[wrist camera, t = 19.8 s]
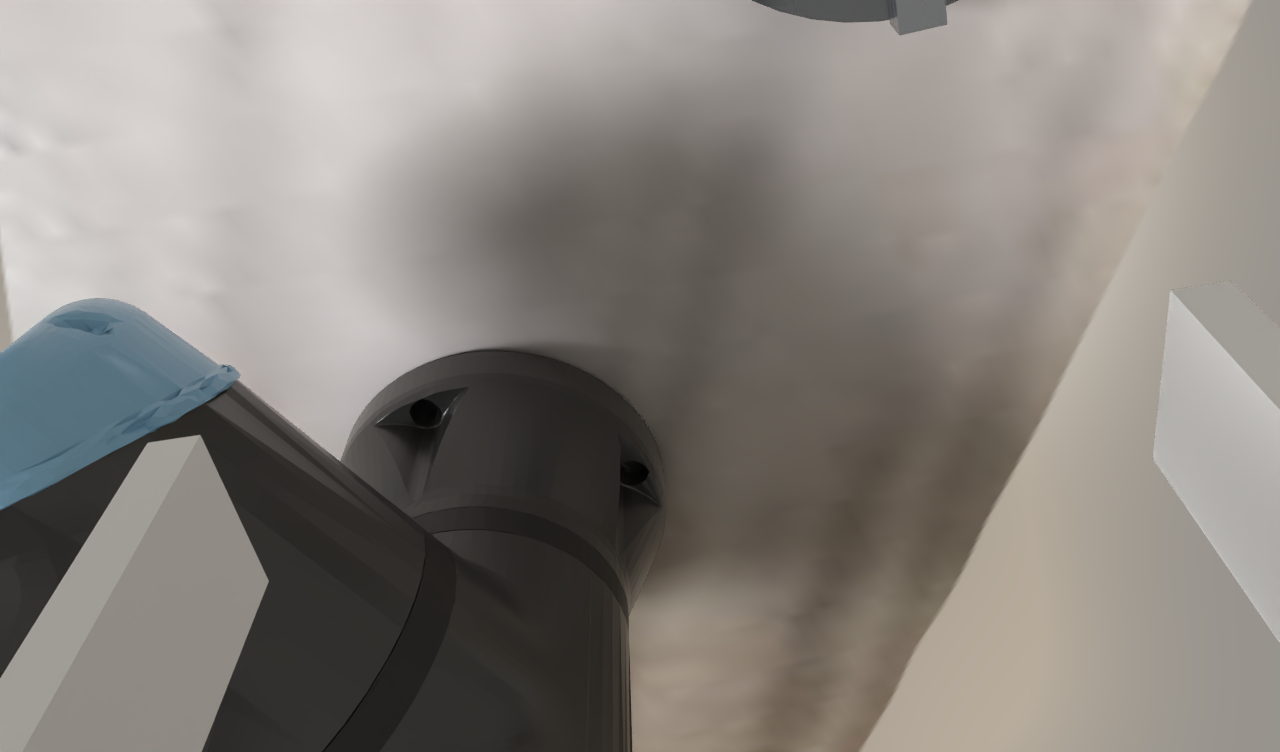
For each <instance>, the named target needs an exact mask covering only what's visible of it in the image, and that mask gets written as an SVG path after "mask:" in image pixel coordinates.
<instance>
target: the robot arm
mask: <svg viewBox="0 0 1280 752" xmlns="http://www.w3.org/2000/svg"><path fill="white" fill-rule="evenodd" d="M240 375H241V374H240V373H239V372H238V371H237V370H236V369H235V368H233V367H232V366H231V365H218V364H217V363H215V362H214V361H213V360H211V359H210V358H208V357H207V356H206V355H204V354H203V353H201V352H200V351H198V350H197V349H196V348H194V347H193V346H191V345H190V344H189V343H187V342H186V341H184V340H183V339H182V338H180V337H179V336H177V335H176V334H174V333H173V332H172V331H170V330H169V329H167V328H166V327H165V326H163V325H162V324H160V323H159V322H158V321H156V320H155V319H154V318H152V317H151V316H149V315H148V314H147V313H145V312H144V311H142V310H140V309H138V308H137V307H135V306H133V305H130V304H128V303H125V302H122V301H118V300H113V299H104V298H94V299H85V300H80V301H76V302H73V303H70V304H67V305H65V306H62V307H60V308H59V309H57V310H56V311H54V312H53V313H51V314H49V315H48V316H47V317H45V318H44V319H43V320H41V321H40V322H39V323H38V324H36V325H35V326H34V327H33V328H31V329H30V330H29V331H27V332H26V333H25V334H24V335H22V336H21V337H20V338H19V339H17V340H16V341H15V342H14V343H12V344H11V345H10V346H9V347H7V348H6V349H5V350H3V351H2V352H1V353H0V752H632V726H631V690H630V655H629V615H630V612H631V610H632V608H633V606H634V604H635V601H636V599H637V597H638V595H639V592H640V590H641V588H642V586H643V584H644V581H645V579H646V577H647V575H648V573H649V570H650V568H651V566H652V564H653V562H654V559H655V557H656V555H657V553H658V550H659V547H660V544H661V540H662V536H663V532H664V526H665V519H666V499H665V480H664V470H663V464H662V460H661V456H660V453H659V450H658V447H657V445H656V443H655V440H654V438H653V436H652V434H651V433H650V431H649V429H648V427H647V426H646V424H645V423H644V421H643V420H642V419H641V417H640V416H639V415H638V413H637V412H636V411H635V410H634V409H633V408H632V407H631V406H630V405H629V403H628V402H627V401H625V400H624V399H623V398H622V397H621V396H620V395H619V394H618V393H616V392H615V391H614V390H613V389H611V388H610V387H609V386H607V385H606V384H604V383H603V382H601V381H600V380H598V379H596V378H595V377H593V376H591V375H589V374H587V373H585V372H583V371H581V370H579V369H577V368H575V367H572V366H570V365H568V364H565V363H562V362H559V361H556V360H553V359H549V358H545V357H542V356H537V355H532V354H525V353H518V352H506V351H485V352H473V353H465V354H459V355H454V356H450V357H446V358H442V359H439V360H436V361H433V362H430V363H427V364H425V365H422V366H420V367H417V368H415V369H414V370H412V371H410V372H408V373H406V374H404V375H402V376H401V377H399V378H398V379H396V380H395V381H393V382H392V383H390V384H389V385H388V386H387V387H385V388H384V389H383V390H382V391H381V392H379V393H378V394H377V395H376V396H375V397H374V398H373V399H372V400H371V402H370V403H369V404H368V405H367V406H366V408H365V409H364V410H363V412H362V413H361V415H360V416H359V418H358V420H357V421H356V423H355V425H354V427H353V429H352V431H351V434H350V436H349V439H348V442H347V444H346V447H345V450H344V453H343V456H342V458H341V461H339V460H337V459H336V458H335V457H334V456H332V455H331V454H330V453H329V452H327V451H326V450H325V449H324V448H322V447H321V446H320V445H319V444H317V443H316V442H315V441H314V440H312V439H311V438H310V437H309V436H307V435H306V434H305V433H304V432H302V431H301V430H300V429H299V428H297V427H296V426H295V425H294V424H292V423H291V422H290V421H289V420H287V419H286V418H285V417H284V416H282V415H281V414H280V413H279V412H277V411H276V410H275V409H274V408H272V407H271V406H270V405H269V404H267V403H266V402H265V401H263V400H262V399H261V398H260V397H258V396H257V395H256V394H255V393H253V392H252V391H251V390H250V389H248V388H247V387H246V386H245V385H243V384H242V383H241V382H240V381H238V380H237V379H238V378H239V377H240ZM1153 460H1154V462H1155V463H1156V464H1157V466H1158V467H1159V469H1160V470H1161V472H1162V473H1163V475H1164V476H1165V478H1166V479H1167V481H1168V482H1169V483H1170V485H1171V486H1172V488H1173V489H1174V491H1175V492H1176V494H1177V495H1178V496H1179V498H1180V499H1181V501H1182V502H1183V504H1184V505H1185V506H1186V508H1187V509H1188V511H1189V512H1190V514H1191V515H1192V517H1193V518H1194V519H1195V521H1196V523H1197V524H1198V525H1199V527H1200V528H1201V530H1202V531H1203V533H1204V534H1205V536H1206V537H1207V539H1208V540H1209V541H1210V543H1211V544H1212V546H1213V547H1214V549H1215V550H1216V552H1217V553H1218V555H1219V556H1220V557H1221V559H1222V560H1223V562H1224V563H1225V565H1226V566H1227V567H1228V569H1229V571H1230V572H1231V573H1232V575H1233V576H1234V578H1235V579H1236V581H1237V582H1238V583H1239V585H1240V586H1241V588H1242V589H1243V591H1244V592H1245V594H1246V595H1247V597H1248V598H1249V600H1250V601H1251V602H1252V604H1253V605H1254V607H1255V608H1256V610H1257V611H1258V613H1259V614H1260V615H1261V617H1262V618H1263V620H1264V621H1265V623H1266V624H1267V625H1268V627H1269V629H1270V630H1271V631H1272V633H1273V634H1274V636H1275V637H1276V639H1277V640H1278V642H1279V643H1280V328H1279V327H1278V326H1277V325H1276V324H1275V323H1274V322H1273V321H1272V320H1271V319H1270V318H1269V317H1268V316H1267V315H1266V314H1265V313H1264V312H1263V311H1262V310H1261V309H1260V308H1259V307H1258V306H1257V305H1256V304H1254V303H1253V302H1252V301H1251V300H1250V299H1249V298H1248V297H1247V296H1246V295H1245V294H1244V293H1243V292H1242V291H1241V290H1240V289H1239V288H1238V287H1237V286H1236V285H1235V284H1234V283H1233V282H1232V281H1226V282H1220V283H1213V284H1207V285H1200V286H1193V287H1186V288H1179V289H1173V290H1170V298H1169V307H1168V317H1167V327H1166V336H1165V345H1164V355H1163V365H1162V374H1161V383H1160V393H1159V402H1158V412H1157V422H1156V431H1155V441H1154V451H1153Z"/></svg>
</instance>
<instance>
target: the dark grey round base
mask: <svg viewBox="0 0 1280 752" xmlns="http://www.w3.org/2000/svg"><path fill="white" fill-rule="evenodd" d="M752 1H755V2H757V3H760V4H762V5H765V6H767V7H770V8H772V9H775V10H777V11H780V12H784V13H789V14H793V15H797V16H801V17H805V18H809V19H816V20H826V21H836V22H872V21H884V20H890V24H891V25H892V27H893V28H894V29H895V30H896V32H897V33H898V34H899V35H903V34H908V33H912V32H916V31H921V30H925V29H929V28H934V27H938V26H942V25H947V16H946V6H947V5H949V4H951V3H953V2H956V1H958V0H752Z"/></svg>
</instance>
